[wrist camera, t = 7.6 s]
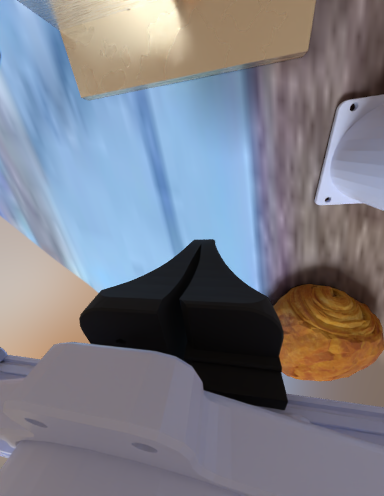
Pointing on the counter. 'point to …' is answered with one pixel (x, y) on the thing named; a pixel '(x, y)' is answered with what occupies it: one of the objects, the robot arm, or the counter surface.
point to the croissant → (326, 333)
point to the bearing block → (172, 38)
